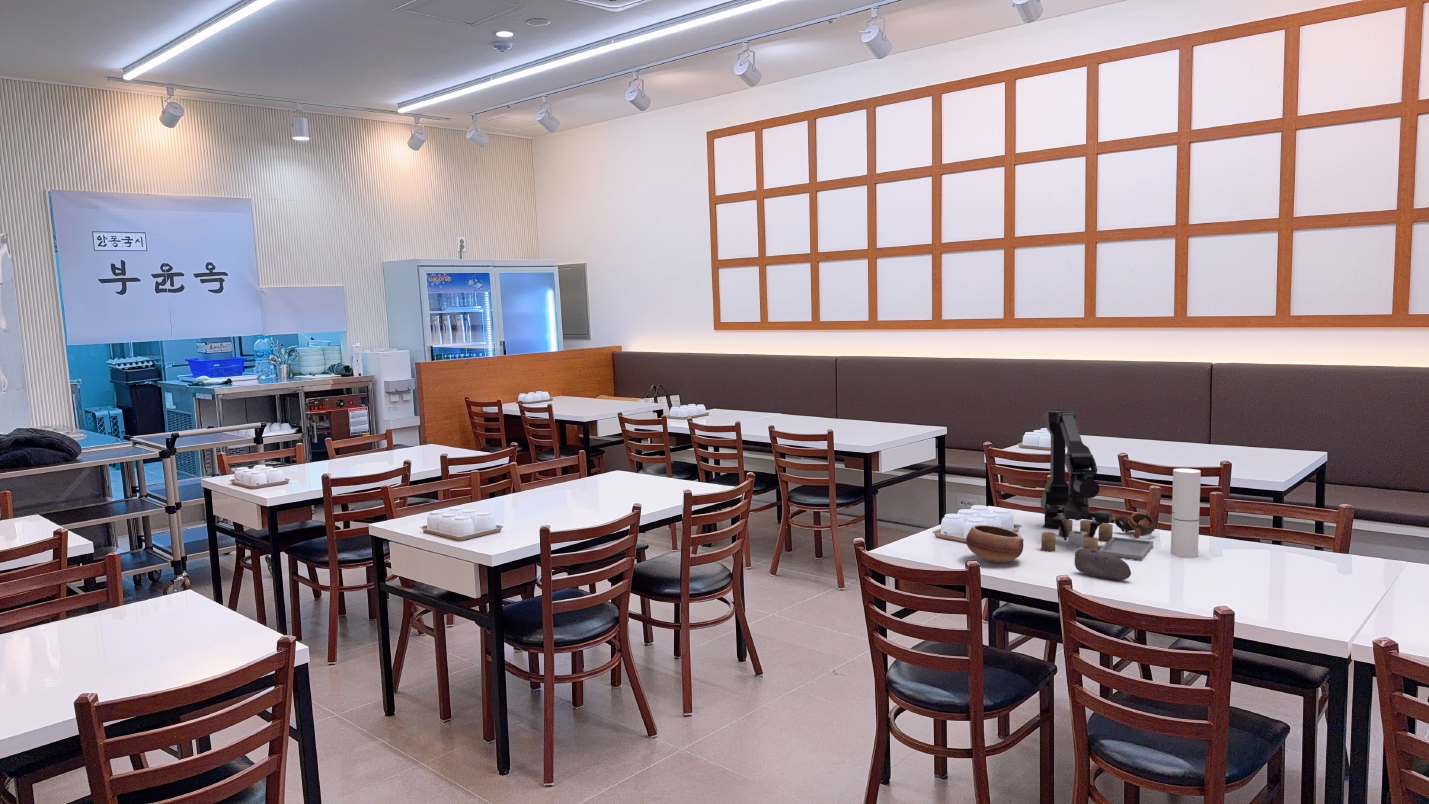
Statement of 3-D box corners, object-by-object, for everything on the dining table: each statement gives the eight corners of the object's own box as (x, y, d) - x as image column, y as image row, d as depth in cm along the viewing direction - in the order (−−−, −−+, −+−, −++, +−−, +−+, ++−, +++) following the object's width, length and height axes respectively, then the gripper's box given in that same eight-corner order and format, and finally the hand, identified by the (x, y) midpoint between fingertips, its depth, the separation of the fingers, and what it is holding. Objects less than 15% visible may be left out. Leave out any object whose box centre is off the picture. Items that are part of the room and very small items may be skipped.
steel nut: (1068, 546, 284) (1068, 533, 284) (1071, 542, 288) (1072, 530, 287) (1083, 548, 282) (1083, 534, 281) (1086, 544, 285) (1087, 531, 285)
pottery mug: (1151, 534, 299) (1159, 515, 294) (1148, 552, 292) (1155, 533, 287) (1112, 521, 304) (1119, 503, 299) (1108, 540, 297) (1115, 521, 292)
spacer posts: (1039, 550, 279) (1040, 534, 278) (1062, 532, 301) (1062, 517, 300) (1095, 557, 270) (1096, 540, 269) (1114, 538, 292) (1115, 523, 291)
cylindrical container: (1191, 551, 275) (1194, 468, 272) (1202, 557, 268) (1204, 472, 265) (1166, 551, 276) (1169, 468, 273) (1176, 557, 268) (1178, 472, 266)
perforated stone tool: (1135, 581, 246) (1135, 555, 246) (1125, 585, 243) (1126, 559, 242) (1082, 570, 258) (1082, 545, 257) (1072, 573, 255) (1072, 548, 254)
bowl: (1029, 568, 260) (1030, 533, 259) (973, 569, 261) (974, 534, 260) (1013, 553, 276) (1013, 521, 275) (960, 554, 276) (960, 521, 275)
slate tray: (1098, 555, 272) (1098, 550, 272) (1112, 541, 288) (1112, 536, 288) (1141, 561, 265) (1141, 556, 265) (1153, 546, 282) (1153, 541, 281)
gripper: (1040, 493, 282) (1039, 543, 283) (1105, 499, 271) (1104, 551, 273) (1049, 487, 291) (1049, 535, 292) (1113, 492, 280) (1112, 543, 282)
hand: (1077, 541), depth 285 cm, fingers open, 7 cm apart
